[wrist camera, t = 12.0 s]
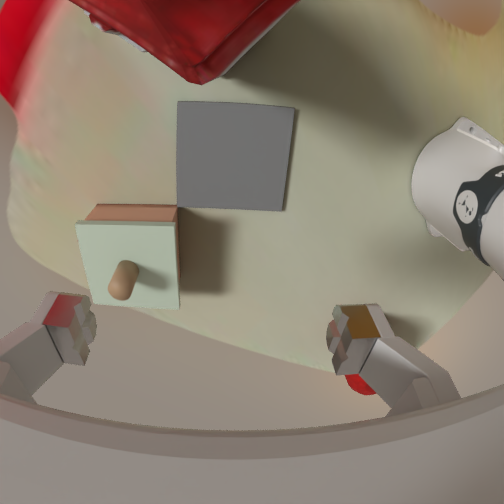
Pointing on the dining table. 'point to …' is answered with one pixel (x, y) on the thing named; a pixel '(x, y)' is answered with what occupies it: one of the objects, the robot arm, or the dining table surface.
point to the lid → (130, 262)
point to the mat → (232, 155)
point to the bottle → (189, 30)
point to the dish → (138, 216)
